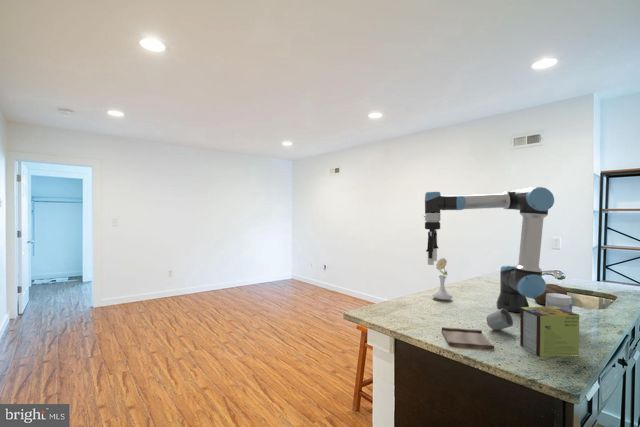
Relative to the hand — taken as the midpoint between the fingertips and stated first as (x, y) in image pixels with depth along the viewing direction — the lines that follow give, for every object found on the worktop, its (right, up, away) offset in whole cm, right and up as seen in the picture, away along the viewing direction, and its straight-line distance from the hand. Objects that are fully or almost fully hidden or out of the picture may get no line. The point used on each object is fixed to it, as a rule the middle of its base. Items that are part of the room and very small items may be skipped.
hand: (432, 262), depth 162 cm
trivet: (+1, -26, -34) cm, 43 cm away
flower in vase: (+15, -26, +26) cm, 40 cm away
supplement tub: (+50, -27, -20) cm, 60 cm away
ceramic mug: (+20, -27, -25) cm, 41 cm away
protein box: (+28, -27, -44) cm, 58 cm away
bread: (+81, -27, +27) cm, 89 cm away
